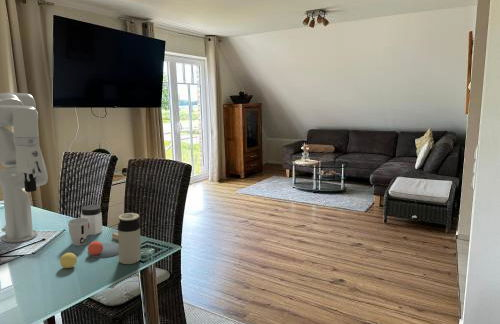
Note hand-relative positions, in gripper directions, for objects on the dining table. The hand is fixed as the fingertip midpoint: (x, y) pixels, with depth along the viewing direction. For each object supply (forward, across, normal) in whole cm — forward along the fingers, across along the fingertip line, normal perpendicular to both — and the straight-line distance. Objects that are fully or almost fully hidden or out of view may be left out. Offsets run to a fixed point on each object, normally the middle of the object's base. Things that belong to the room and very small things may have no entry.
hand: (30, 191), depth 127 cm
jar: (+27, +8, -29) cm, 41 cm away
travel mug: (+27, -29, -20) cm, 44 cm away
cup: (+27, +1, -18) cm, 33 cm away
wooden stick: (+27, -14, -30) cm, 43 cm away
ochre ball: (+24, -16, -4) cm, 29 cm away
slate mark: (+27, -14, -20) cm, 37 cm away
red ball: (+24, -14, -16) cm, 32 cm away
